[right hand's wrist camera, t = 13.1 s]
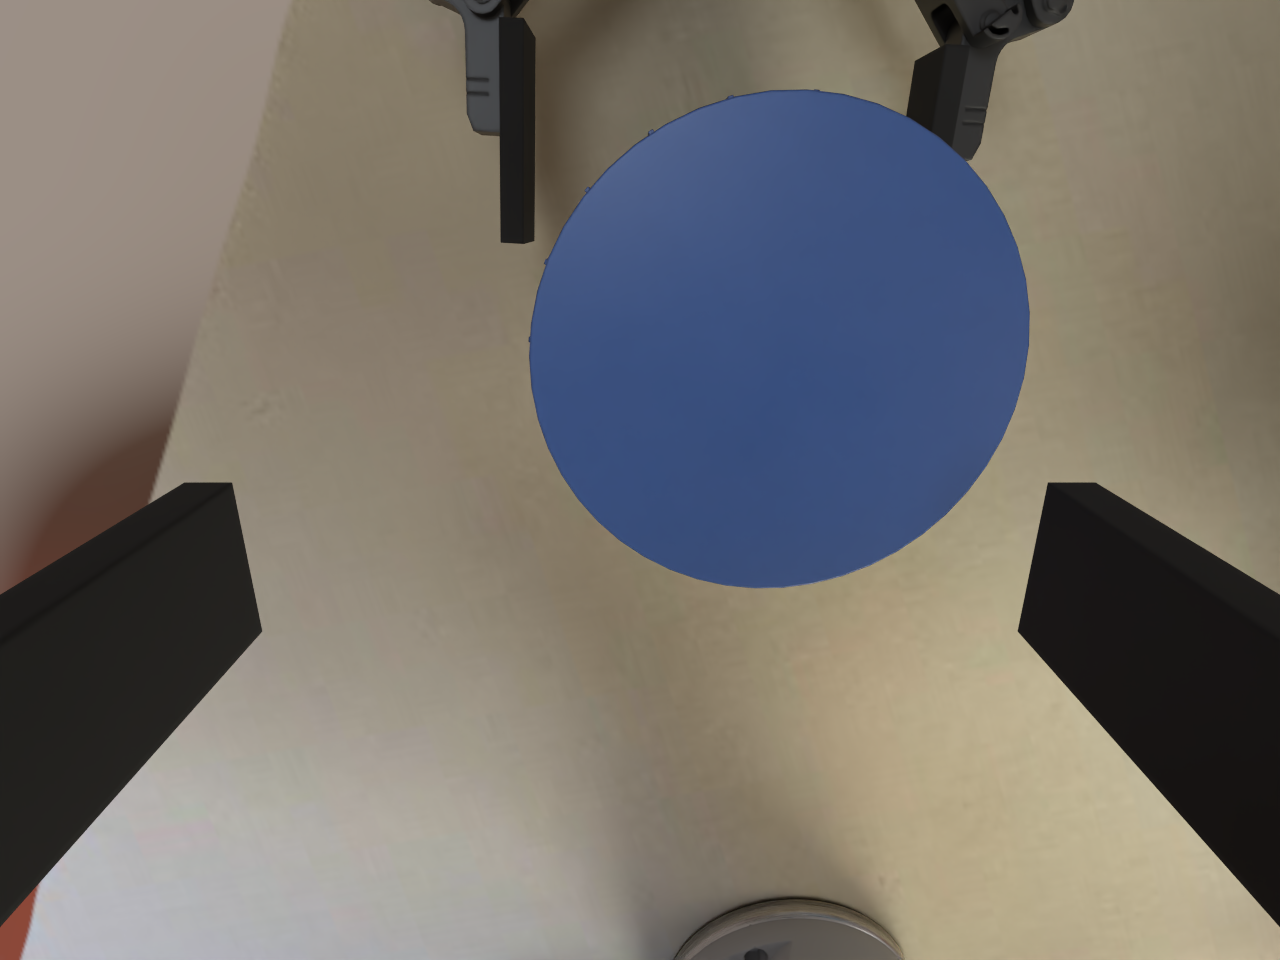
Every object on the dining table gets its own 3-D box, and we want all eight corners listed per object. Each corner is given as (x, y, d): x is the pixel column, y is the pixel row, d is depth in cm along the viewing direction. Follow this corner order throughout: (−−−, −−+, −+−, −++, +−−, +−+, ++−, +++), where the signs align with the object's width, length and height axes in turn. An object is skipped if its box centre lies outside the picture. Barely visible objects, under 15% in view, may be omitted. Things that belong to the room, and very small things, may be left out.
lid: (702, -6, 16) (712, -38, 14) (1081, 279, 18) (1139, 288, 16) (462, 416, 19) (440, 441, 17) (807, 618, 21) (826, 663, 19)
